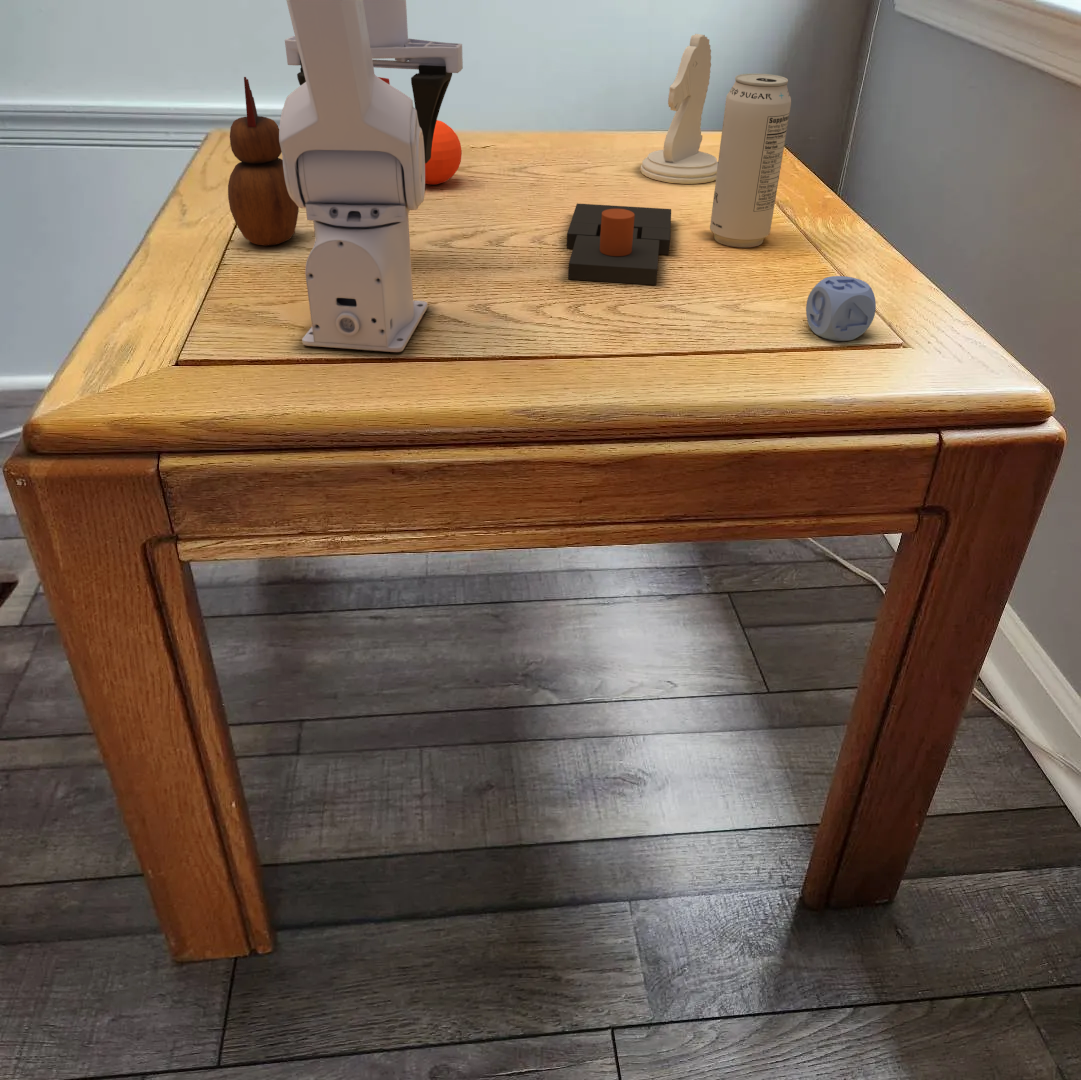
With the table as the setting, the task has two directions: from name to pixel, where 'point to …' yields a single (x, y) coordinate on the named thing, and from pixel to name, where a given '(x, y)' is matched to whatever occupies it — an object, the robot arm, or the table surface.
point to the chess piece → (686, 123)
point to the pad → (613, 265)
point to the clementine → (443, 155)
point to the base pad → (646, 220)
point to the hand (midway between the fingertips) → (381, 158)
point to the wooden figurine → (259, 180)
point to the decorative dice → (840, 308)
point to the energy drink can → (750, 159)
